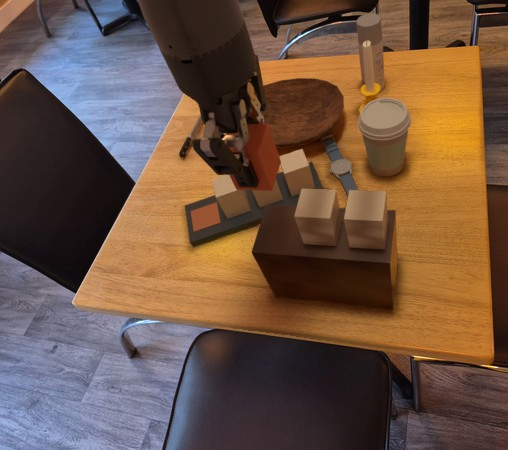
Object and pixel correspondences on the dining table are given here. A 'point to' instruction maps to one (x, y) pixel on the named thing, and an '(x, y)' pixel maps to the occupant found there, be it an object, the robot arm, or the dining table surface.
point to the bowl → (301, 110)
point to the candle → (368, 76)
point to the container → (371, 32)
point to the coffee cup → (385, 134)
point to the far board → (248, 201)
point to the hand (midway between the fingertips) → (255, 168)
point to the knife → (191, 137)
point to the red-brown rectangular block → (260, 156)
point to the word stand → (330, 249)
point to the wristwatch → (339, 165)
